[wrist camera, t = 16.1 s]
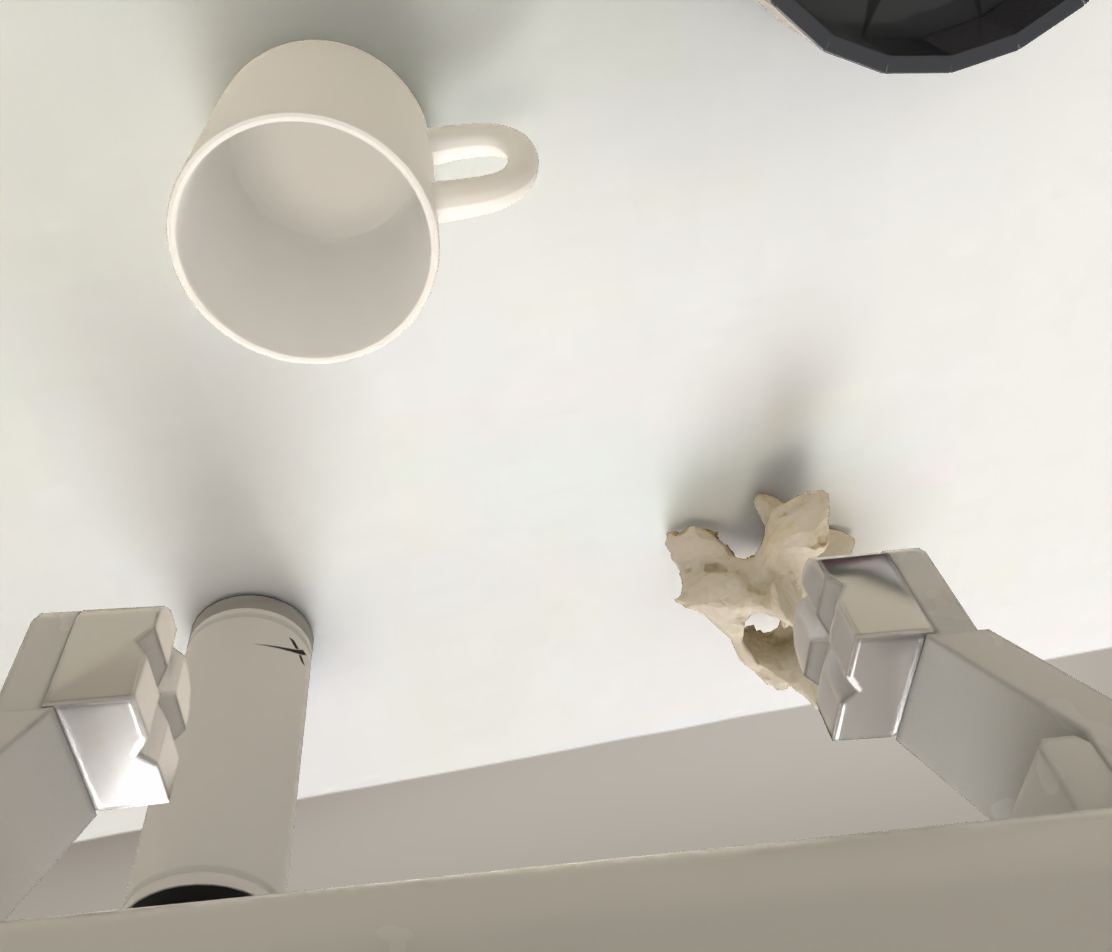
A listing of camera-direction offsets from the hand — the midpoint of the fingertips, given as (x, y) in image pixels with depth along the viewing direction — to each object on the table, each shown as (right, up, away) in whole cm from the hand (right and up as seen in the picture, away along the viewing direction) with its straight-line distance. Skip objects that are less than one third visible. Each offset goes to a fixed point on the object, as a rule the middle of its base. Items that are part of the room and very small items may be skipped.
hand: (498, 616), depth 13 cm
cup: (-6, +15, +27) cm, 32 cm away
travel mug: (-15, -6, +41) cm, 44 cm away
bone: (+12, -2, +41) cm, 43 cm away
